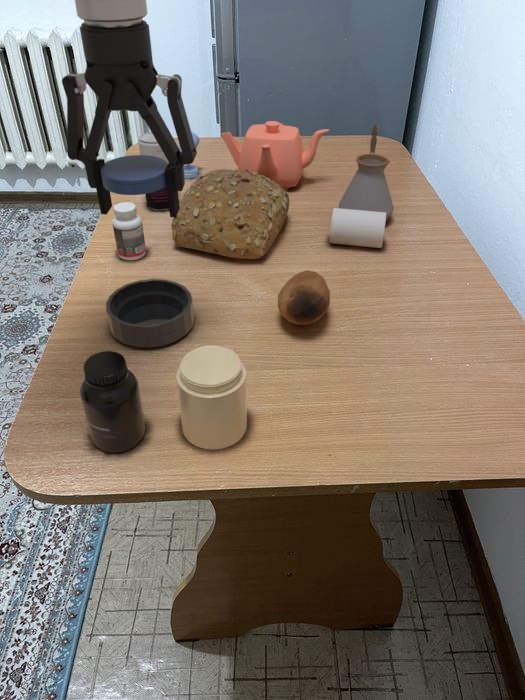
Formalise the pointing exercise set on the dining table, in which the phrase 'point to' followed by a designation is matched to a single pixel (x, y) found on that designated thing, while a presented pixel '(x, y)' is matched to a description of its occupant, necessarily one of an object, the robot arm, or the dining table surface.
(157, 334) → the bowl
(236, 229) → the bread
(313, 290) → the potato
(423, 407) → the dining table surface
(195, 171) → the spotlight
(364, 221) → the cup
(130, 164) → the jar lid
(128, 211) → the pill bottle
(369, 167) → the coffee pot
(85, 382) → the supplement bottle
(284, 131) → the teapot
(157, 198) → the beverage can
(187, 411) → the jar
